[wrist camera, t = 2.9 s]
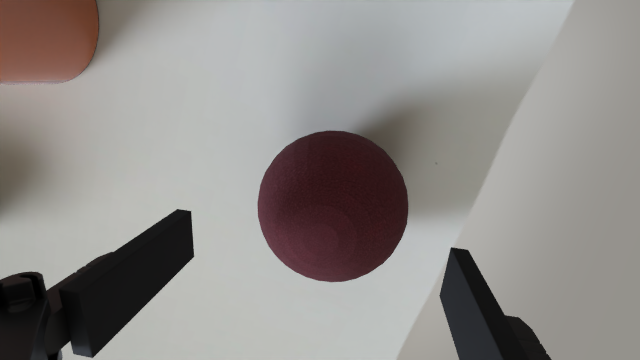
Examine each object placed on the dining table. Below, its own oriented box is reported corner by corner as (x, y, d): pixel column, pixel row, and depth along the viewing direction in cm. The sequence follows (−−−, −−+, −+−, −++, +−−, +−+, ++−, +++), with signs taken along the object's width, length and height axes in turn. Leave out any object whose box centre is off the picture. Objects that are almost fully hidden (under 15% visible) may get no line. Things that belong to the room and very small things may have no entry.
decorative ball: (269, 211, 28) (215, 280, 19) (301, 103, 24) (254, 119, 15) (375, 251, 27) (374, 342, 18) (422, 146, 24) (453, 191, 15)
